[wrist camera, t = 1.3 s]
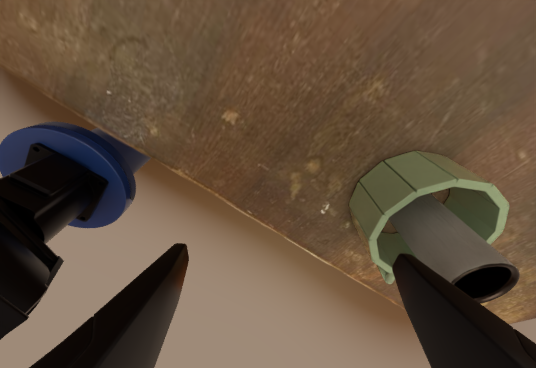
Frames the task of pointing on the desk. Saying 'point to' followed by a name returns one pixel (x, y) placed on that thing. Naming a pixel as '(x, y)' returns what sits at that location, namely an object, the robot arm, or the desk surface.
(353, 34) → the desk surface
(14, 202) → the robot arm
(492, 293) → the grey hollow cylinder
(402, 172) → the mug
